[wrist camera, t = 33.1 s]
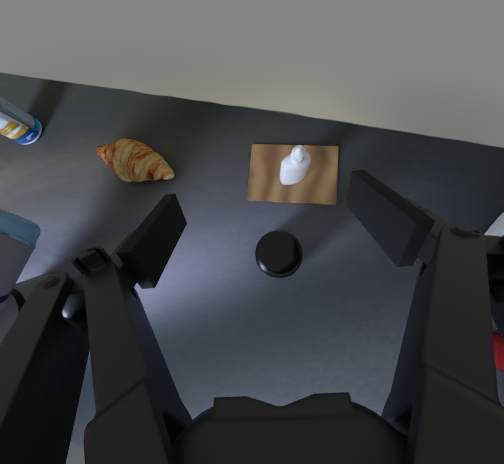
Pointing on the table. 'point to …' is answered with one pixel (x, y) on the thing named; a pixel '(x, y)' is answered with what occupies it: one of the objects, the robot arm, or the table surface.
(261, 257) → the ink bottle
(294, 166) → the eye dropper bottle
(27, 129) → the beverage bottle
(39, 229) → the robot arm
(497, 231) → the photo printer
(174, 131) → the table surface
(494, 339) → the plastic cup
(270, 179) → the wooden board
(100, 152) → the croissant
